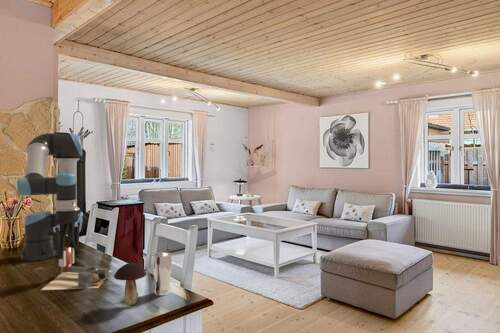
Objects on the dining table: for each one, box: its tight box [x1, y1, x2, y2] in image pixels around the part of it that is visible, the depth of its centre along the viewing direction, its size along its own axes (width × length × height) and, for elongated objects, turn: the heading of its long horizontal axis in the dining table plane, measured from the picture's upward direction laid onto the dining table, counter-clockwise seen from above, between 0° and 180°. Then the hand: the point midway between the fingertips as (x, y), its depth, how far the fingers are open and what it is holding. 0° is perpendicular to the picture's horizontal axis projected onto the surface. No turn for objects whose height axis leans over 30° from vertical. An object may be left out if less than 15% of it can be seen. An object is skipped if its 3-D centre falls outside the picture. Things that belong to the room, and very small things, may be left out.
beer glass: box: [152, 251, 173, 297], centre depth 133 cm, size 7×7×15 cm
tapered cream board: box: [40, 269, 113, 291], centre depth 143 cm, size 21×21×6 cm
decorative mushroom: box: [113, 262, 148, 306], centre depth 122 cm, size 11×11×15 cm
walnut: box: [92, 273, 99, 283], centre depth 139 cm, size 4×4×4 cm
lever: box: [60, 246, 110, 280], centre depth 145 cm, size 5×22×11 cm, turn 78°
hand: (66, 264), depth 147 cm, fingers closed on lever, 4 cm apart
